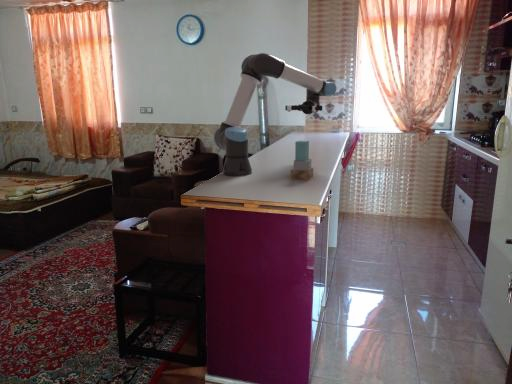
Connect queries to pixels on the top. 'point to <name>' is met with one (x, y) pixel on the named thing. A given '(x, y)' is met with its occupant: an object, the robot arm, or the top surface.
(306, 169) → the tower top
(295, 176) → the tower base
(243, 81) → the robot arm
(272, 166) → the top surface
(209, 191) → the top surface
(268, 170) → the top surface
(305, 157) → the column block
